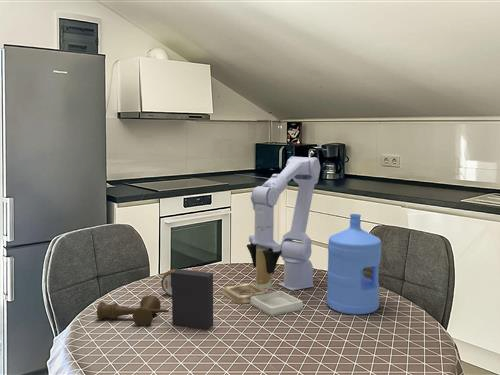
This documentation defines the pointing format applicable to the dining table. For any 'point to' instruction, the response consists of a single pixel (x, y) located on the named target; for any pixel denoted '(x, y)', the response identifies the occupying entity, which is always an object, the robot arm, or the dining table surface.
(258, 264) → the skincare box
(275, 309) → the tray
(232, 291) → the wooden square frame
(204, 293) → the black upright block
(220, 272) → the dining table surface
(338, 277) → the water jug
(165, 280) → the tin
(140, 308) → the kendama
